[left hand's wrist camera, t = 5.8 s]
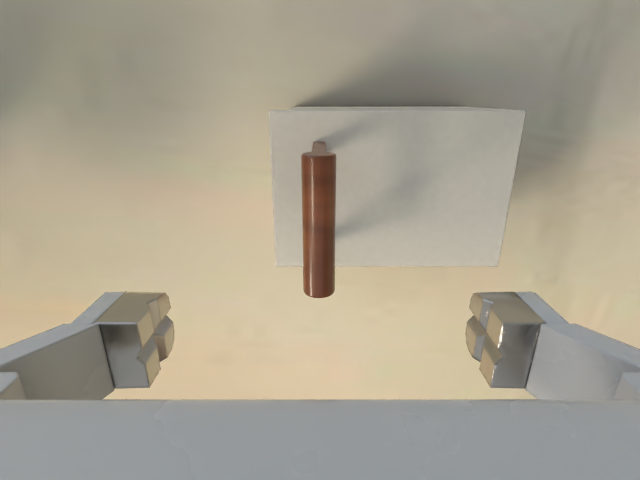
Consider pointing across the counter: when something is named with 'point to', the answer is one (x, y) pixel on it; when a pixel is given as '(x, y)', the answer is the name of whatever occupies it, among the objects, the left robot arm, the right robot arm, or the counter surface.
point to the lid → (390, 188)
